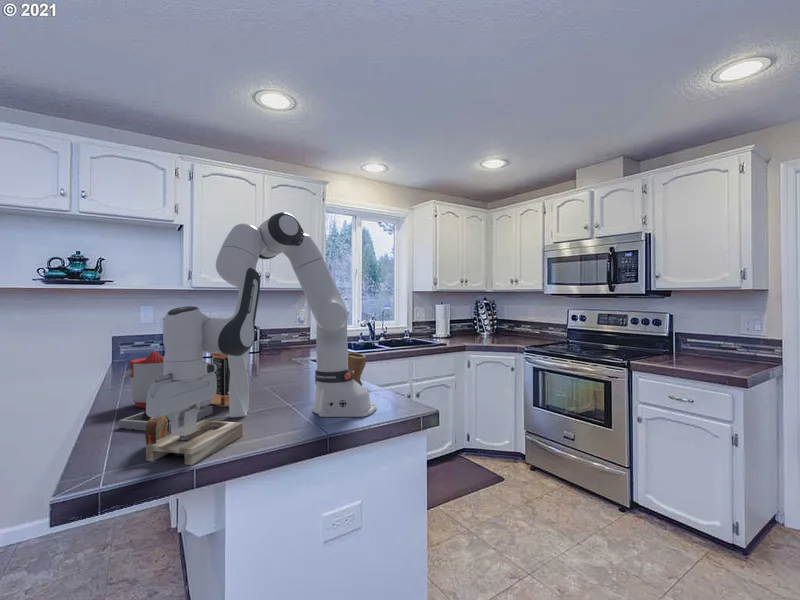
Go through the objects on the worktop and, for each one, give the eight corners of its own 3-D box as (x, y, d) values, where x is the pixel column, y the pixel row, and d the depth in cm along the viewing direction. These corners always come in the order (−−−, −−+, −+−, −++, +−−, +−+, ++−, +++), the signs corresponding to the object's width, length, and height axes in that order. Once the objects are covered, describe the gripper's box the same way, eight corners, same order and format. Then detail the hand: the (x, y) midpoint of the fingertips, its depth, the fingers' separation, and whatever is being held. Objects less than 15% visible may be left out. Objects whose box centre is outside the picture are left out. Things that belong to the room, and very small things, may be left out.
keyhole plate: (242, 435, 113) (242, 422, 113) (191, 465, 94) (191, 449, 93) (203, 432, 116) (203, 420, 116) (146, 460, 96) (145, 445, 96)
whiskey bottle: (236, 397, 156) (235, 317, 156) (249, 402, 150) (248, 318, 149) (210, 403, 148) (208, 318, 148) (222, 408, 142) (220, 319, 142)
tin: (157, 456, 98) (157, 423, 98) (142, 458, 97) (143, 424, 97) (170, 435, 112) (170, 406, 112) (157, 436, 111) (158, 407, 111)
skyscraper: (249, 417, 131) (248, 333, 130) (225, 419, 129) (224, 333, 128) (252, 410, 138) (251, 331, 138) (229, 412, 136) (228, 331, 136)
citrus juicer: (121, 404, 147) (120, 351, 147) (174, 396, 158) (173, 347, 158) (126, 414, 135) (125, 356, 135) (183, 404, 147) (182, 351, 146)
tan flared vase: (368, 389, 169) (368, 354, 168) (340, 391, 165) (340, 355, 165) (362, 382, 183) (362, 350, 183) (336, 383, 180) (336, 351, 180)
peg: (197, 449, 102) (197, 407, 102) (185, 456, 98) (184, 412, 97) (183, 448, 103) (182, 406, 103) (170, 455, 99) (169, 411, 98)
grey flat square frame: (212, 413, 135) (212, 406, 135) (169, 432, 117) (168, 423, 117) (167, 410, 139) (167, 403, 139) (119, 428, 120) (118, 420, 120)
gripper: (161, 379, 89) (162, 440, 89) (220, 364, 109) (221, 413, 109) (138, 378, 90) (138, 438, 91) (201, 363, 110) (201, 412, 111)
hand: (184, 424), depth 100 cm, fingers closed on peg, 4 cm apart
